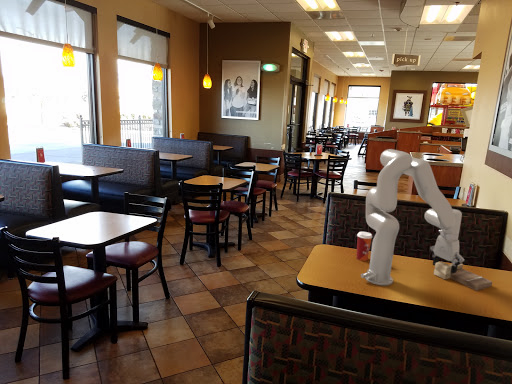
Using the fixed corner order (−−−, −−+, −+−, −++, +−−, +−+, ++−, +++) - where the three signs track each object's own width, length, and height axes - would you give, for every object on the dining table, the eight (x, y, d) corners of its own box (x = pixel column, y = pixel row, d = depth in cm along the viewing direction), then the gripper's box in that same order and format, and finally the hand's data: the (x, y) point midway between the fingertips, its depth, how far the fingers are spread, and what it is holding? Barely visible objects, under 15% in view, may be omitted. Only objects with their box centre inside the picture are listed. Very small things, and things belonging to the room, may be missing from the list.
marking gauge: (464, 274, 182) (467, 262, 181) (444, 279, 175) (446, 267, 174) (453, 269, 187) (455, 258, 186) (433, 274, 180) (435, 262, 179)
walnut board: (491, 286, 171) (492, 281, 170) (476, 290, 166) (477, 285, 165) (452, 269, 188) (453, 264, 188) (437, 272, 183) (438, 267, 183)
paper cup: (366, 262, 190) (370, 237, 187) (352, 259, 194) (355, 233, 191) (371, 258, 197) (374, 233, 194) (357, 254, 201) (360, 230, 198)
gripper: (428, 230, 180) (423, 263, 184) (461, 242, 165) (455, 277, 169) (438, 228, 183) (433, 260, 187) (471, 240, 168) (465, 274, 172)
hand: (444, 268), depth 178 cm, fingers open, 9 cm apart
